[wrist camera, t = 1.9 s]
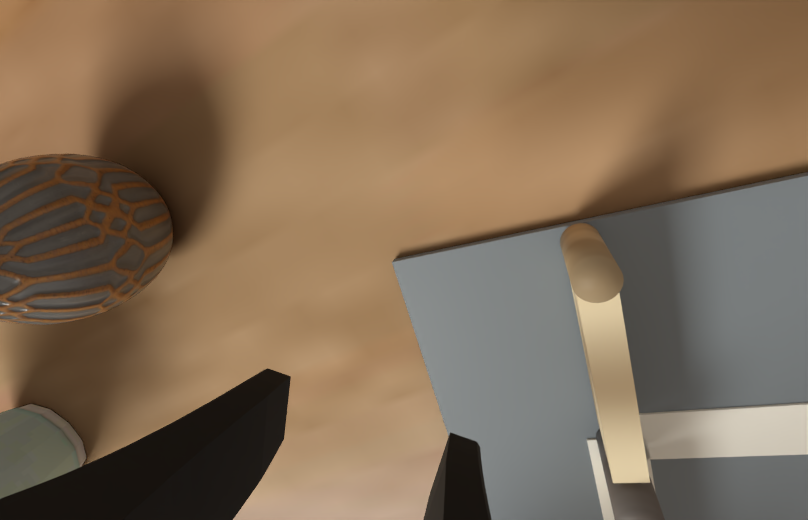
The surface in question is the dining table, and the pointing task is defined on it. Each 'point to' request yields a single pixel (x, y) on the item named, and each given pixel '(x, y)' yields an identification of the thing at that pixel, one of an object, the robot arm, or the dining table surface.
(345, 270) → the dining table surface
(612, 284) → the fence panel
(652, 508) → the fence fixed
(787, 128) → the dining table surface
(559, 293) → the card
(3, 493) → the disposable coffee cup
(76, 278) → the vase
